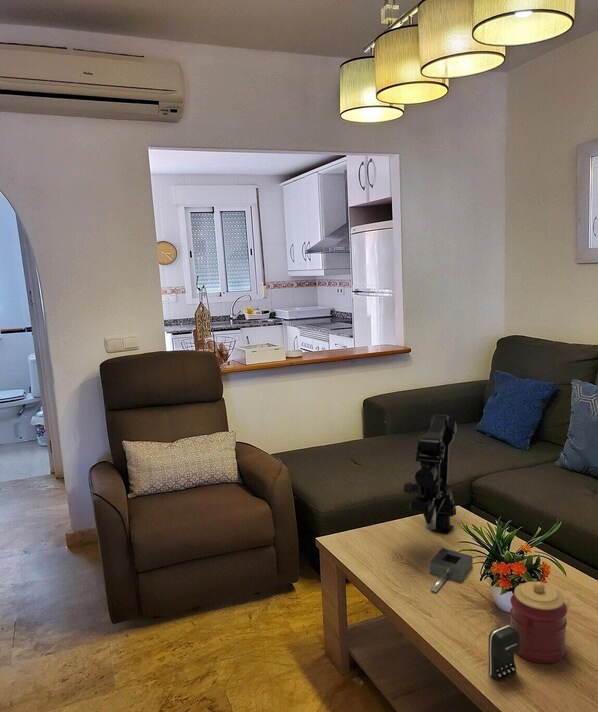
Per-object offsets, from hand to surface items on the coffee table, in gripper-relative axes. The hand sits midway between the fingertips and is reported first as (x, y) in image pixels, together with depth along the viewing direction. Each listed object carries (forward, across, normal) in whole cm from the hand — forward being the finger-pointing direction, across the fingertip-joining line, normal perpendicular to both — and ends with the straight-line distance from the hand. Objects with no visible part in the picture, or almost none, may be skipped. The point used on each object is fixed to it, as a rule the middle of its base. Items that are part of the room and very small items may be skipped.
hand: (430, 521), depth 189 cm
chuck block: (+12, +9, +9) cm, 18 cm away
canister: (+13, +27, +40) cm, 50 cm away
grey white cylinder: (+2, 0, 0) cm, 2 cm away
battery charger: (+13, +41, +37) cm, 56 cm away
